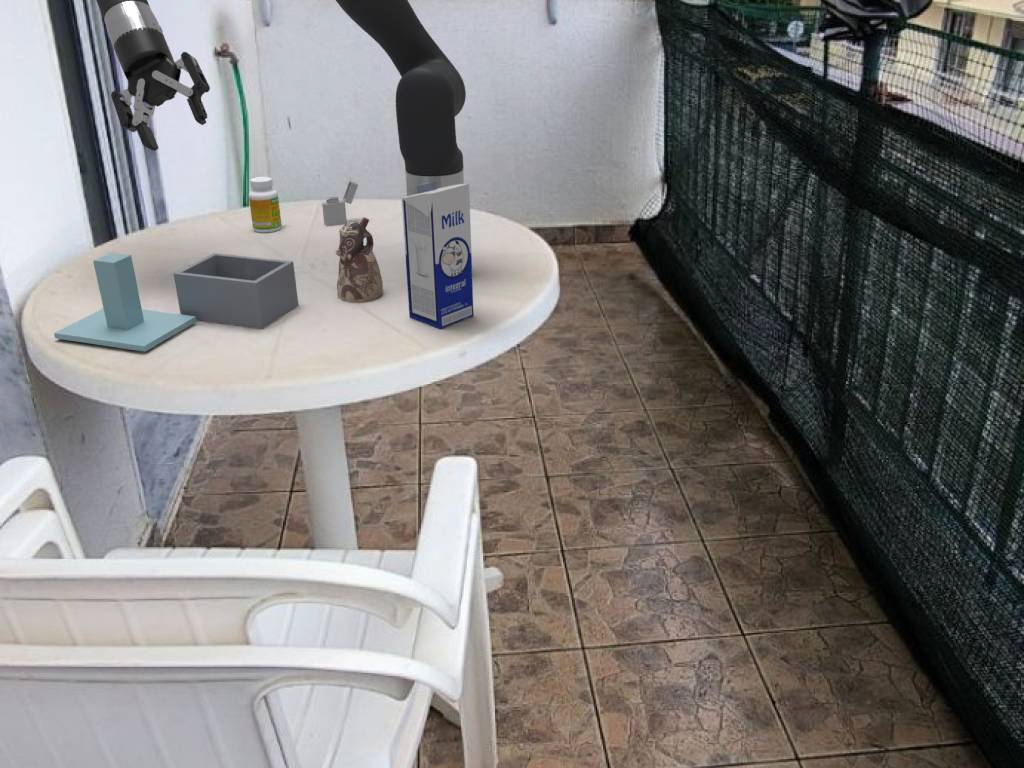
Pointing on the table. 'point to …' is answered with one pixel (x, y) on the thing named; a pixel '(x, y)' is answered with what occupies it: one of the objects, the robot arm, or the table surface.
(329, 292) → the table surface
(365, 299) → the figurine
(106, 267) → the lid
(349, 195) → the lighter
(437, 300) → the milk carton
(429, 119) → the robot arm
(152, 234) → the table surface
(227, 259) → the tub
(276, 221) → the supplement bottle
